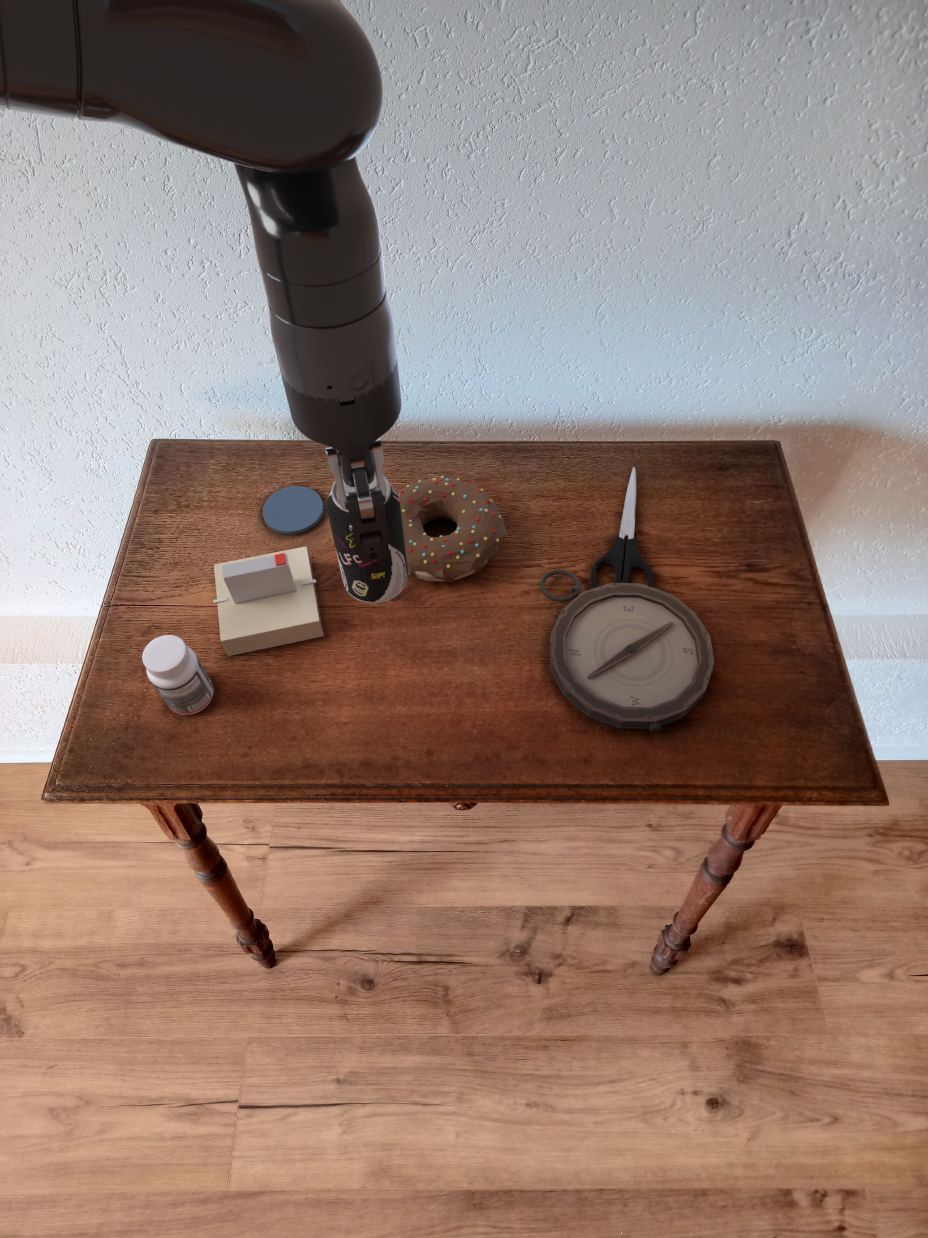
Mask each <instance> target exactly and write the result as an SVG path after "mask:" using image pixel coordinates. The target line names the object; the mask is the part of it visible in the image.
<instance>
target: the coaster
mask: <svg viewBox="0 0 928 1238" xmlns="http://www.w3.org/2000/svg"><path fill="white" fill-rule="evenodd" d="M324 509H325V507H324V503H323V499H322V497H321V496H320V494H319V493H317V492H316V491H315V490H314V489H312V488H310V487H306V486H301V485H292V486H286V487H283V488H281V489H279V490H277V491H275V492H273V493H272V494H271V495H270V496H268V497H267V499H266V501H265V502H264V504H263V507H262V517H263V520H264V522H265V525H266V526H267V527H268V528H269V529H270V530H272V531H273V532H275V533H278V534H281V535H285V536H286V535H289V536H290V535H291V536H293V535H299V534H302V533H305V532H307V531H310V530H311V529H313V528H314V527H315V526H316V525H318V523H319V522H320V521H321V519H322V517H323V515H324Z"/></svg>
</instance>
